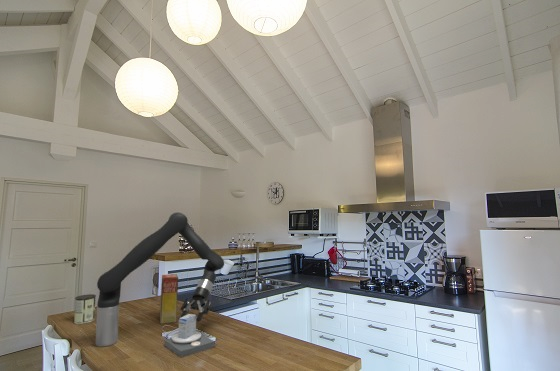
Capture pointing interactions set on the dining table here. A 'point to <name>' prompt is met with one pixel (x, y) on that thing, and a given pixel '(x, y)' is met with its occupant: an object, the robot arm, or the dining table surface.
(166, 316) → the food packaging
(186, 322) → the medicine box
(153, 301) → the dining table surface
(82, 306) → the coffee can
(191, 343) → the kitchen scale
